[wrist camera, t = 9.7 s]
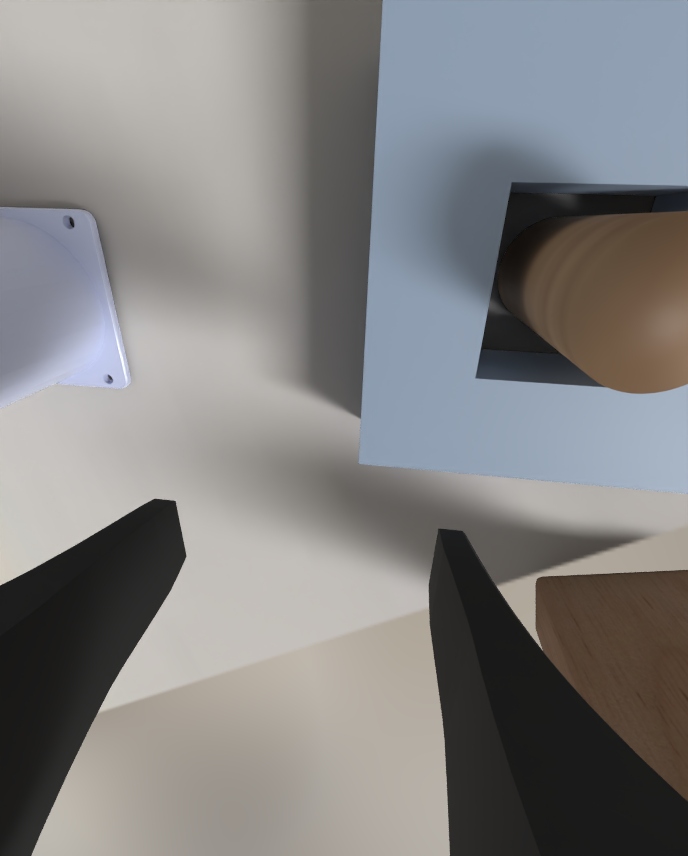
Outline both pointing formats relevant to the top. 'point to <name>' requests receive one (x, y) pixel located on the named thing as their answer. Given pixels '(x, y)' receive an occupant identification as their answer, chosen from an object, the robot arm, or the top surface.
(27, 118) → the top surface
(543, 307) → the peg
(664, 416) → the socket
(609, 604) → the wooden block
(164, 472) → the top surface
